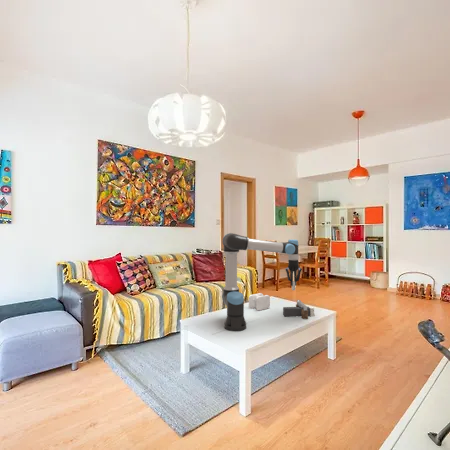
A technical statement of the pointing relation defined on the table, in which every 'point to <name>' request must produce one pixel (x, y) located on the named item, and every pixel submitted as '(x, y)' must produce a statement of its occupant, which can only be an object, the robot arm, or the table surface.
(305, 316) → the brown wooden bar
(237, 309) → the robot arm
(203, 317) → the table surface
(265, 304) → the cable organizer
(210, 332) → the table surface
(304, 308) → the latch
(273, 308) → the table surface
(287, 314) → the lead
